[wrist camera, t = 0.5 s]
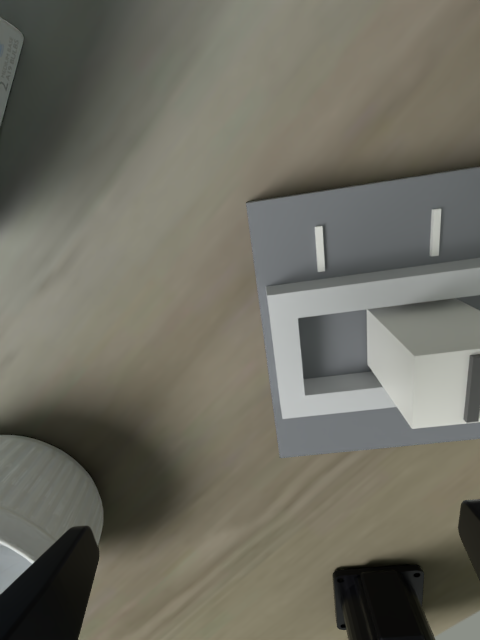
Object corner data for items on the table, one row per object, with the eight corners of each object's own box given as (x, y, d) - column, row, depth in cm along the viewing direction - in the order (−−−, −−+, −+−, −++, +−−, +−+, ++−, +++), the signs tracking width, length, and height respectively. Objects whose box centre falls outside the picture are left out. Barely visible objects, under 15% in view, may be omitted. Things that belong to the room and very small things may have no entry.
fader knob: (449, 354, 17) (530, 420, 12) (367, 364, 17) (414, 432, 12) (453, 297, 16) (545, 344, 11) (366, 308, 16) (417, 358, 11)
